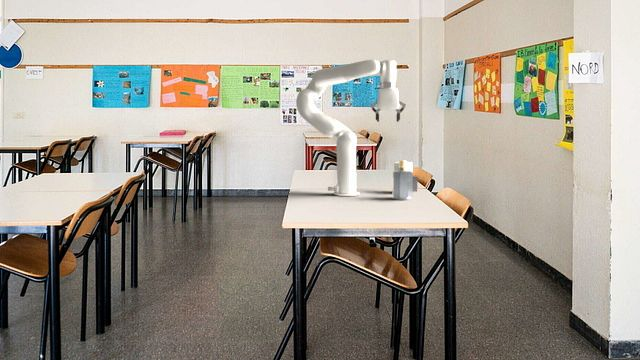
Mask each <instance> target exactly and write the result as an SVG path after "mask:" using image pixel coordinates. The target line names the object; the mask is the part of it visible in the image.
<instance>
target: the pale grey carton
mask: <svg viewBox="0 0 640 360" xmlns="http://www.w3.org/2000/svg"><path fill="white" fill-rule="evenodd" d="M413 175H414V174H413V170H412V171H410V170H406V171H405V170H404V172H401V170H398V171H394V170H393V172H392V200H395V201H411V200H413V193H415V192H418V179H419V178H418V176H413Z"/></svg>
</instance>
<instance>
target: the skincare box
mask: <svg viewBox="0 0 640 360" xmlns="http://www.w3.org/2000/svg"><path fill="white" fill-rule="evenodd" d="M398 170H400V169H399V161H397V162H394V163H393V171H398ZM406 170H410V171H412V172H413V161H410V162H409V161H407V169H406ZM406 170H405V171H406Z"/></svg>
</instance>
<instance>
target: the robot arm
mask: <svg viewBox="0 0 640 360" xmlns="http://www.w3.org/2000/svg"><path fill="white" fill-rule="evenodd" d="M375 76H376V77H377V76H380V80H379V82H380V83H377V87H378V88H379V89H378V94H377V100H376V101H374V102H373V103H371V104H369V106H370V108H371V110H372V111H373V112H374V113H375V121H376V122H380V113H379V112H380V111H381V110H392V111H393V110H395V111H396V122H397V123H398V122H400V120H401V113H402V112H403V111H404V110H405V108H406V105H407V104H405V103H404V102H402V101H400V100H399V98H400V97H399V90H398V88H397V61H395V60H390V59H388V60H385V59H384V60H382V61H379V60H377V59H373V58H372V59H366V60H365V59H364V60H362V61H356V62H353V63H346V64H342V65H336V66H331V67H326V68H321V69H318V70H316V71H314V72H313V74H312V76H311V80H310V81H309V82H308V84H307V86H306V87H305V88H303V89H301V90H300V91H299V92H298V93H297V96H296V101H295V104H296V108H297V111H298V114H299V115H300V117H301V118H303V120H304V121H306V122H307V123H308V124H309V125H311V126H312V127H313V128H314V129H316V130H317V131H318V132H320V133H321V134H322V135H323V136H325V137H327V138H329V139H331V141H334V142H335V143H336V185H334V186H327V191H332V192H333V195H335V196H340V197H354V196H359V195H360V192H359V191H358V190H357V143H358V137H357V135H356V133H355V132H353V130H351V129H350V128H348V127H347V126H346V125H344V124H343V123H342V122H340V121H339V120H338V119H336V118H334V117H330V116H329V115H327V114H325V112H323V111H322V110H321V109H319V107H317V106H316V105H315V103H317V102H318V100H319V98H320V97H321V96H322V94H323V93H324V92H325V90H326V89H327V88H328V87H329V86H334V85H339V84H344V83H345V84H346V83H348V82H350V81H353V80H355V79H360V78H366V77H375ZM376 105H377V108H375V106H376ZM400 106H401V108H400ZM399 108H400V109H399Z"/></svg>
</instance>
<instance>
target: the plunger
mask: <svg viewBox="0 0 640 360" xmlns="http://www.w3.org/2000/svg"><path fill="white" fill-rule="evenodd" d="M398 162H399V169H400V170H401V172H404V170H406V169H407V162H408V161H407V160H399V161H398Z"/></svg>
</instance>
